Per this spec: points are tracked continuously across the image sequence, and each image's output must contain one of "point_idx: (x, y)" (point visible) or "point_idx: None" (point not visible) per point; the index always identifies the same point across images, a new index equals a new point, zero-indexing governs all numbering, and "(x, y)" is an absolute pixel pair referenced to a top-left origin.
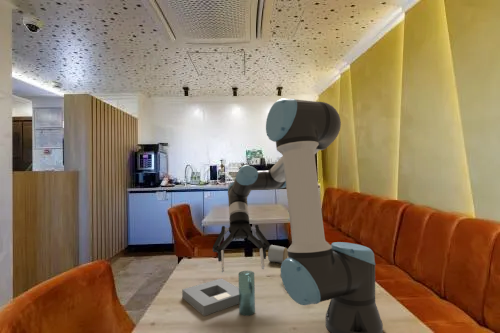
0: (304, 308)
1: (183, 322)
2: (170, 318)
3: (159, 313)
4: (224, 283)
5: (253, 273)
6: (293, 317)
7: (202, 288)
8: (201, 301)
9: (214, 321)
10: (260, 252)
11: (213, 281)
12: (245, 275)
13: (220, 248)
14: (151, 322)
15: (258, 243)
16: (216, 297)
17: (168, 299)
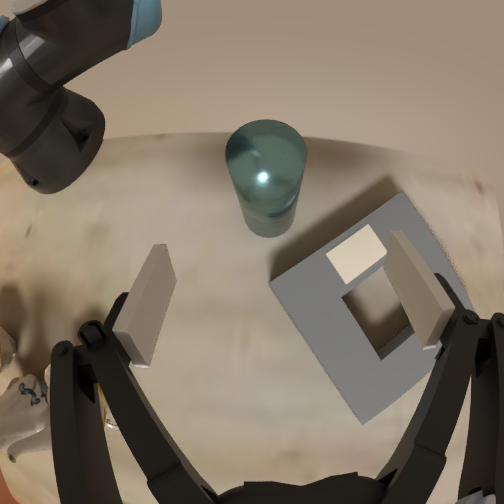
0: (107, 222)
1: (428, 178)
2: (459, 202)
3: (486, 231)
4: (353, 375)
5: (229, 149)
6: (147, 177)
7: None
8: (416, 222)
9: (358, 171)
10: (141, 317)
11: (393, 394)
12: (271, 129)
13: (465, 319)
14: (483, 192)
15: (122, 372)
16: (376, 243)
17: (489, 309)
